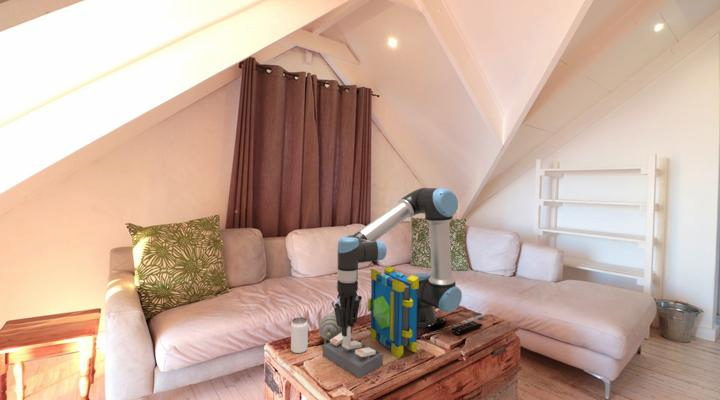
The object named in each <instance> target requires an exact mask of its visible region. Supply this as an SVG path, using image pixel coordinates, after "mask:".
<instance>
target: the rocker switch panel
mask: <svg viewBox="0 0 720 400" xmlns="http://www.w3.org/2000/svg"><path fill="white" fill-rule="evenodd" d="M351 341H357V340H355V339H354V338H352V337H351ZM358 342H359V343H361V344H362V347H360V348H356V349H349V350H348V349H346V348H344V347H343V346H342V343H343V342H342V343H340V344H339V345H338V346H335V345H333V344H331V343H330V342H327V344H325V345H324V344H323V345H322V356H323V357H324V358H326V359H327V358H328V359H327V360H329V361H331V362H332V361H333V364H335V363H336V365H337V366H339V367H341V368H342V369H344V370H345V371H346V372H349V373H350V374H351V375H353V376H355V377H357V378H358V379H360V378H362V377H364V376H365V375H367V374H369V373H371V372H372V371H375V370H376V369H378V368H380V367H382V366H383V365H384V364H383V363H384V361H383V359H384V358H383V357H384V354H383V353H381V352H379V351H378V350H376V349H373V348H371V347H370V346H367V345H366V344H364V343H362V342H360V341H358ZM367 347H369V348H371V349H373V350H375V351H376V353H375V354H374V355H369V356H365V357H361V356H359V355H357V354H355V350H357V349H362V348H367Z"/></svg>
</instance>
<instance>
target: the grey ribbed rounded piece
mask: <svg viewBox="0 0 720 400" xmlns="http://www.w3.org/2000/svg"><path fill="white" fill-rule="evenodd" d="M318 332H319V336H321V338H322V339H323V345H325V344H327V343H328V342H330V340H331V339H332V338H334V337H335V336H337V335H338V334H340V333H341V332H342V328H341V327H339V326H337V321H336V316H335V312H330V313H327V314H326V315H324V316H323V317H322V318H321V320H320V321H319V323H318Z"/></svg>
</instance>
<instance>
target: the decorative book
mask: <svg viewBox="0 0 720 400" xmlns="http://www.w3.org/2000/svg"><path fill="white" fill-rule="evenodd" d="M395 270H396V268H395V267H392V266H390V265H389V266H387V267H385V268H384V269H383V275H382V272H380V271H378V270H376V269H373V268H370V279H371V288H370V289H371V290H370V291H371V292H370V294H371V295H370V296H371V297H369V298H368V300H367V301H368V302H367V311H368V312H370V338H371V340H373V339H374V340H375V341H374V340H373V341H374V342H377V341H379V342H380V343H381V344H382V345H383V346H384V347H386V348H387V349H389V350H390V351H391V352H390V354H391V355H392V356H393V357H394V358H396V359H397V360H399V359H400V358H401V357H402V356H403V355H404V347H405V348H406V349H408V350H409V351H411V352H413V353H418V342H417V340H418V339H417V336H418V334H417V333H418V332H417V330H418V327H417V291H418V289H419V278H418V277H416V276H413V275H412V274H411V275H410V276H407V274H405V273H402V272H398V271H395Z"/></svg>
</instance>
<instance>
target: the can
mask: <svg viewBox="0 0 720 400" xmlns="http://www.w3.org/2000/svg"><path fill="white" fill-rule="evenodd" d="M291 321H292V322H291V323H290V350H291V352H292V353H294V354H303V353H306V352H307V351H308V344H309V343H308V342H309V340H308V334H309V333H308V330H309V329H308V321H307V318H306V317H303V316H300V317H299V316H297V317H294V318H293V319H292V320H291Z"/></svg>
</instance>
